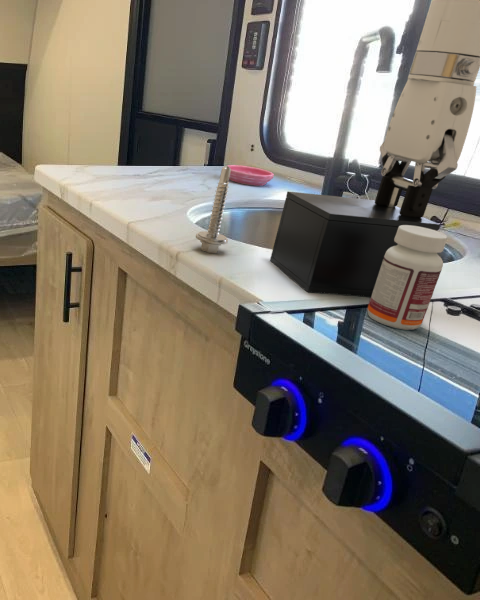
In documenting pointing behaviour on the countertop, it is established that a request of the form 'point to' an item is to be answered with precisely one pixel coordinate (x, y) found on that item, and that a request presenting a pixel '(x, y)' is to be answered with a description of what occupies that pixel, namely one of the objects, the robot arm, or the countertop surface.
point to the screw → (216, 216)
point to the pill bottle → (407, 278)
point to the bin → (330, 251)
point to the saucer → (249, 175)
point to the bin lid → (362, 208)
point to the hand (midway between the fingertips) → (398, 209)
